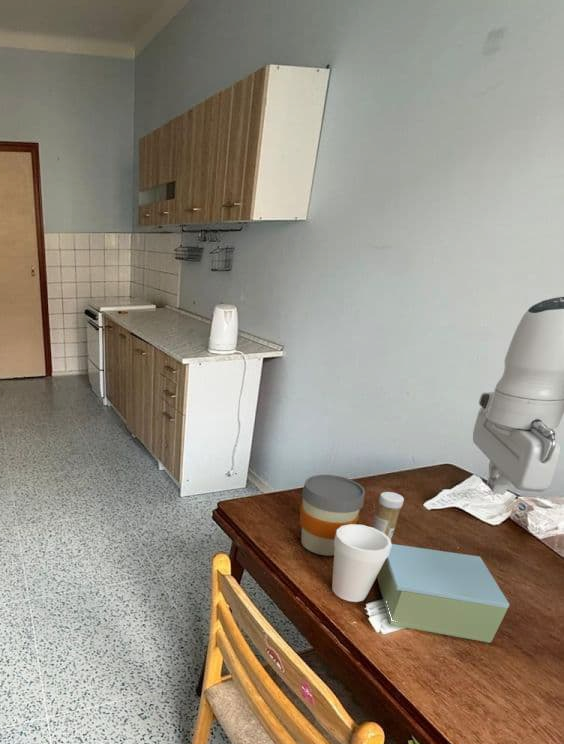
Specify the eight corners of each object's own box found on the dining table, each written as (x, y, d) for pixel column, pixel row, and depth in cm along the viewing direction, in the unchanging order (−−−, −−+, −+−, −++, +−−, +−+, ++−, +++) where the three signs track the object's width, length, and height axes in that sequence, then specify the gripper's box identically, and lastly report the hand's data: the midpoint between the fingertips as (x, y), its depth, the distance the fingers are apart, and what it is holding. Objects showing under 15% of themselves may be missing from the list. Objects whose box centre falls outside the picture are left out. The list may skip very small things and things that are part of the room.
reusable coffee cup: (315, 523, 117) (326, 469, 110) (362, 547, 107) (378, 490, 100) (281, 540, 111) (291, 484, 104) (328, 567, 102) (343, 507, 94)
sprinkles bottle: (392, 552, 106) (409, 500, 99) (372, 553, 106) (388, 501, 99) (381, 541, 110) (396, 490, 103) (362, 542, 110) (376, 491, 103)
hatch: (396, 589, 83) (397, 586, 82) (382, 546, 94) (383, 542, 94) (507, 608, 78) (509, 604, 78) (478, 560, 90) (480, 556, 90)
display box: (390, 624, 86) (401, 591, 83) (377, 578, 98) (386, 547, 94) (490, 643, 82) (507, 608, 78) (464, 592, 94) (478, 560, 90)
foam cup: (324, 572, 100) (336, 520, 94) (372, 582, 97) (388, 529, 91) (323, 600, 92) (336, 546, 86) (376, 612, 89) (393, 557, 83)
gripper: (587, 436, 63) (548, 524, 69) (520, 392, 80) (494, 466, 86) (530, 433, 64) (497, 519, 71) (477, 391, 82) (454, 463, 88)
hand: (495, 490), depth 79 cm, fingers closed
